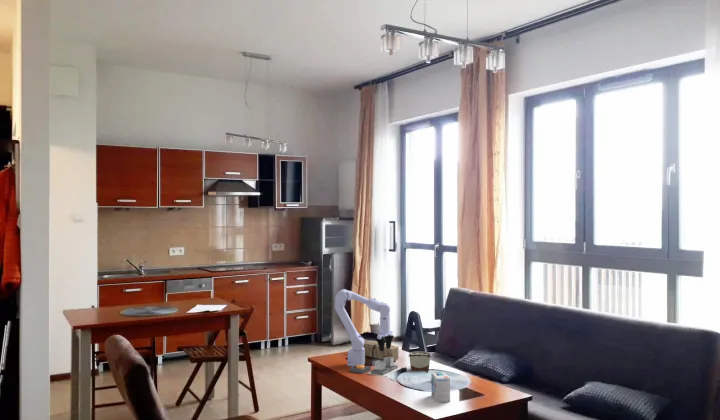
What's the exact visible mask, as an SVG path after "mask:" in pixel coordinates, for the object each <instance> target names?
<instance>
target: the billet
mask: <svg viewBox="0 0 720 420" xmlns="http://www.w3.org/2000/svg"><path fill="white" fill-rule="evenodd" d="M383 361H385V367H387V368H392V367H394V365H395V361H394V358H393V357H386V358H384V360H383Z"/></svg>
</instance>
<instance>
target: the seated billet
mask: <svg viewBox="0 0 720 420" xmlns="http://www.w3.org/2000/svg"><path fill="white" fill-rule="evenodd" d="M374 363H375V364H374V367H375V368H374V369H375V371H381V372H383V371H385V361H384V360H383V359H378V360H376V361H374Z"/></svg>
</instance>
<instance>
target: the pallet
mask: <svg viewBox="0 0 720 420" xmlns="http://www.w3.org/2000/svg"><path fill="white" fill-rule="evenodd" d="M401 369H402V368H401V367H399V366H398V364H397V365H396V364H394V367H392V368H387V367H385V371H383V372H381V371H375V368H373V369H370V371H368V372H366V374H368V375H375V376H381V377H386V376H389V375H391V374H394V372H397V371H399V370H401Z"/></svg>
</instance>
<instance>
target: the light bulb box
mask: <svg viewBox="0 0 720 420" xmlns="http://www.w3.org/2000/svg"><path fill="white" fill-rule="evenodd" d="M430 373H431V377H430V378H431V380H430V381H431V391H430V392H431V393H430V395H431V396H432V398H433V400H434V402H435V403H449V402H451V377H450V376H449V375H448V374H447V373H446V372H444V371H443V372H442V371H441V372H430Z"/></svg>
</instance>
